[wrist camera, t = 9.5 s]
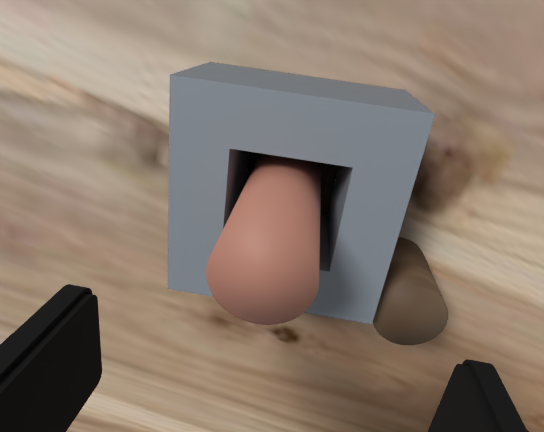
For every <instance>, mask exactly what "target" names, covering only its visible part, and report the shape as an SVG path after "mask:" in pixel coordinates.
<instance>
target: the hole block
mask: <svg viewBox="0 0 544 432" xmlns="http://www.w3.org/2000/svg"><path fill="white" fill-rule="evenodd" d="M434 117H435V113H434V112H432V111H431V110H430V109H428V108H427V107H426V106H425V105H423V104H422V103H421V102H420V101H418V100H417V99H416V98H414V97H413V96H412V95H411V94H409V93H408V92H407V91H405V90H400V89H393V88H386V87H379V86H372V85H365V84H358V83H351V82H344V81H337V80H331V79H324V78H317V77H310V76H303V75H296V74H289V73H282V72H275V71H268V70H261V69H255V68H248V67H241V66H234V65H227V64H220V63H213V62H209V63H206V64H202V65H199V66H196V67H193V68H190V69H187V70H184V71H180V72H177V73H174V74H171V75H170V116H169V210H168V289H173V290H178V291H184V292H190V293H195V294H201V295H207V296H213V295H212V293H211V291H210V289H209V286H208V283H207V277H206V268H207V263H208V259H209V257H210V255H211V253H212V251H213V249H214V247H215V245H216V243H217V241H218V239H219V237H220V235H221V233H222V231H223V229H224V227H225V225H226V223H227V220H228V218H229V216H230V214H231V212H232V210H233V208H234V206H235V204H236V202H237V200H238V198H239V196H240V194H241V192H242V190H243V188H244V186H245V184H246V181H247V171H248V162H249V152H256V153H262V154H268V155H275V156H281V157H288V158H294V159H301V160H307V161H314V162H320V163H326V164H333V165H338V170H337V175H336V180H335V185H334V189H333V194H332V199H331V204H330V209H329V214H328V215H322V214H320V259H319V287H318V292H317V295H316V297H315V299H314V301H313V303H312V304H311V306H310V307H309V308H308V309H307V310H306V311H305V312H304V313H310V314H316V315H322V316H327V317H333V318H339V319H344V320H350V321H356V322H362V323H367V324H372V322H373V319H374V316H375V312H376V309H377V306H378V302H379V299H380V296H381V292H382V289H383V286H384V282H385V279H386V276H387V272H388V269H389V266H390V263H391V259H392V256H393V253H394V249H395V246H396V243H397V239H398V236H399V233H400V229H401V226H402V223H403V219H404V216H405V213H406V209H407V206H408V203H409V199H410V196H411V193H412V190H413V186H414V183H415V180H416V176H417V173H418V170H419V166H420V163H421V160H422V156H423V153H424V150H425V146H426V143H427V140H428V136H429V133H430V130H431V126H432V123H433V120H434ZM213 297H214V296H213Z"/></svg>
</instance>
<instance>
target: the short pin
mask: <svg viewBox="0 0 544 432" xmlns="http://www.w3.org/2000/svg"><path fill="white" fill-rule="evenodd" d="M447 320H448V310H447V307H446V304H445V302H444V300H443V298H442V295H441V293H440V291H439V288H438V286H437V284H436V282H435V279H434V277H433V275H432V273H431V270H430V268H429V266H428V264H427V261H426V259H425V257H424V254H423V252H422V251H421V249H420V248H419V247H418V246H417V245H416V244H415V243H413V242H412V241H410V240H407V239H404V238H398V239H397V243H396V246H395V249H394V253H393V256H392V259H391V263H390V266H389V269H388V272H387V276H386V279H385V282H384V286H383V289H382V292H381V296H380V299H379V302H378V306H377V309H376V312H375V316H374V319H373V323H374V326H375V328H376V330H377V331H378V333H379V334H380V335H381V336H382V337H384V338H385V339H387V340H389V341H391V342H393V343H396V344H401V345H416V344H421V343H424V342H427V341H429V340H431V339H433V338H434V337H436V336H437V335H438V334H439V333H440V332H441V331H442V330H443V329H444V327H445V325H446V323H447Z"/></svg>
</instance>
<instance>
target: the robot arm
mask: <svg viewBox="0 0 544 432" xmlns="http://www.w3.org/2000/svg"><path fill="white" fill-rule="evenodd" d="M101 374H102V362H101V347H100V331H99V315H98V300H97V296H96V295H92V291H91V289H89V288H86V287H80V286H75V285H70V284H68V285H65V286H64V287H63V288H62V289H60V290H59V291H58V292H57V293H56V294H55V295H54V296H53V297H52V298H51V299H50V300H49V301H48V302H46V303H45V304H44V305H43V306H42V307H41V308H40V309H39V310H38V311H37V312H36V313H35V314H33V315H32V316H31V317H30V318H29V319H28V320H27V321H26V322H25V323H24V324H23V325H22V326H20V327H19V328H18V329H17V330H16V331H15V332H14V333H13V334H11V335H10V336H9V337H8V338H7V339H6V340H5V341H4V342H3V343H2V344H0V432H66V431H67V429H68V428H69V426H70V425H71V423H72V422H73V420H74V419H75V417H76V416H77V414H78V413H79V411H80V410H81V409H82V407H83V406H84V404H85V403H86V401H87V400H88V398H89V397H90V395H91V394H92V392H93V391H94V389H95V388H96V386H97V385H98V383H99V381H100V378H101ZM428 432H529V431H527V430H526V428H525V426H524V424H523V422H522V420H521V418H520V416H519V414H518V412H517V410H516V408H515V406H514V404H513V402H512V400H511V398H510V396H509V394H508V392H507V391H506V389H505V387H504V385H503V383H502V381H501V379H500V377H499V375H498V373H497V371H496V369H495V368H494V366H493V365H492V364H489V363H484V362H479V361H474V360H465V361H464V362H463V364H457V365H456V366H455V368H454V370H453V373H452V375H451V378H450V380H449V382H448V385H447V387H446V389H445V392H444V394H443V397H442V399H441V401H440V404H439V406H438V408H437V411H436V413H435V416H434V418H433V420H432V423H431V425H430V427H429V430H428Z"/></svg>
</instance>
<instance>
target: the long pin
mask: <svg viewBox="0 0 544 432" xmlns="http://www.w3.org/2000/svg"><path fill="white" fill-rule="evenodd" d="M320 209H321V163H320V162H314V161H307V160H301V159H294V158H288V157H281V156H275V155H268V154H262V153H261V154H260V156H259V158H258V160H257V162H256V164H255V166H254V168H253V170H252V172H251V174H250V176H249V178H248V180H247V182H246V184H245V186H244V188H243V190H242V192H241V194H240V196H239V198H238V200H237V202H236V204H235V206H234V208H233V210H232V212H231V214H230V216H229V218H228V220H227V223H226V225H225V227H224V229H223V231H222V233H221V235H220V237H219V239H218V241H217V243H216V245H215V247H214V249H213V251H212V253H211V255H210V257H209V259H208V263H207V268H206V277H207V283H208V286H209V289H210V291H211V293H212V295H213V296H214V298H215V300H216V301H217V302H218V303H219V304H220V305H221V306H222V307H223V308H224V309H225V310H226V311H228V312H229V313H230V314H232V315H234V316H235V317H237V318H240V319H242V320H244V321H247V322H251V323H255V324H263V325H271V324H279V323H284V322H287V321H290V320H292V319H295V318H296V317H298V316H300V315H301V314H302V313H304V312H305V311H306V310H307V309H308V308H309V307H310V306H311V304H312V303H313V301H314V299H315V297H316V295H317V292H318V287H319V259H320Z"/></svg>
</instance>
